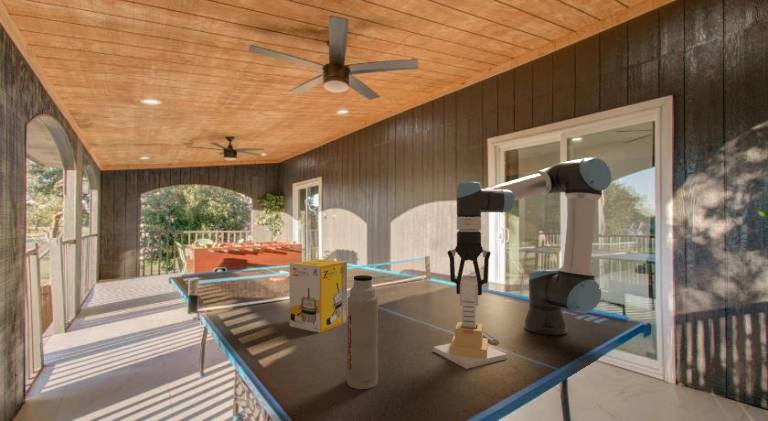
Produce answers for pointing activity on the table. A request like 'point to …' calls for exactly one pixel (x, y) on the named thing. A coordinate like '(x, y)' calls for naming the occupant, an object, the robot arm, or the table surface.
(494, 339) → the adjustable wrench
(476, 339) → the stand
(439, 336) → the table surface
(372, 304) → the thermos bottle
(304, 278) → the packaging box
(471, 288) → the column
